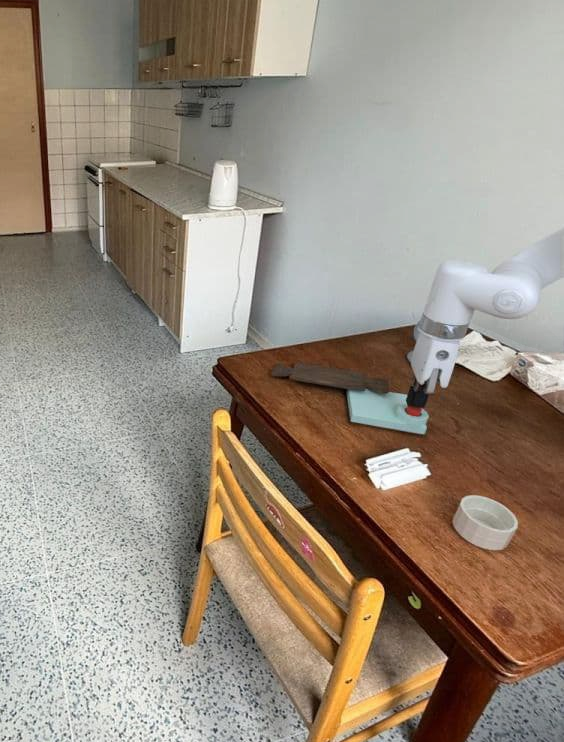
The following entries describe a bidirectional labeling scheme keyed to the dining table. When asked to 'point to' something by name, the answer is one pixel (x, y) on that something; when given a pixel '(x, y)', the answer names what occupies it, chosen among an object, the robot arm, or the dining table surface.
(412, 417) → the scale
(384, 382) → the dark wooden board
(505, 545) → the bowl
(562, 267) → the robot arm
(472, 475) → the dining table surface
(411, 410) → the tare button
